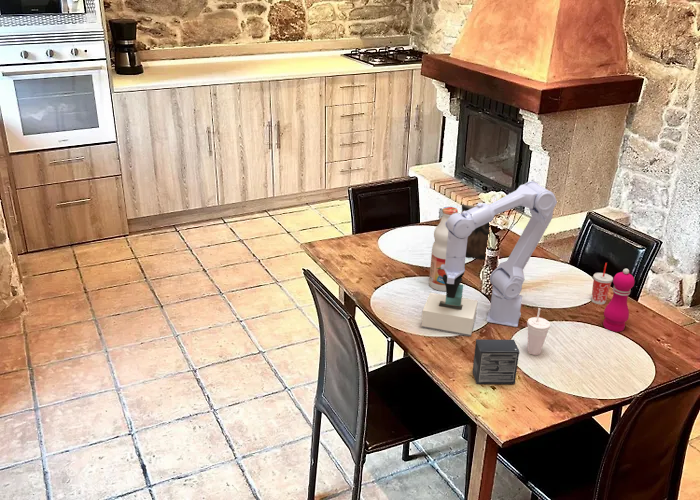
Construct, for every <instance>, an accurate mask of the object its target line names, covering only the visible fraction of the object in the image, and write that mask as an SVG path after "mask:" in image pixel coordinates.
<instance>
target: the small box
mask: <svg viewBox="0 0 700 500" xmlns="http://www.w3.org/2000/svg"><path fill="white" fill-rule="evenodd" d="M473 355H474V356H473V362H472V363H473V364H472V370H471V371H472V375H473V378H474V381H475V384H476V385H516V378H517V371H518V364H519V355H520V350H519V347H518V346H517V343H516V341H515V340H514V339H487V338H486V339H479V338H478V339H475V346H474V354H473Z"/></svg>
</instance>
